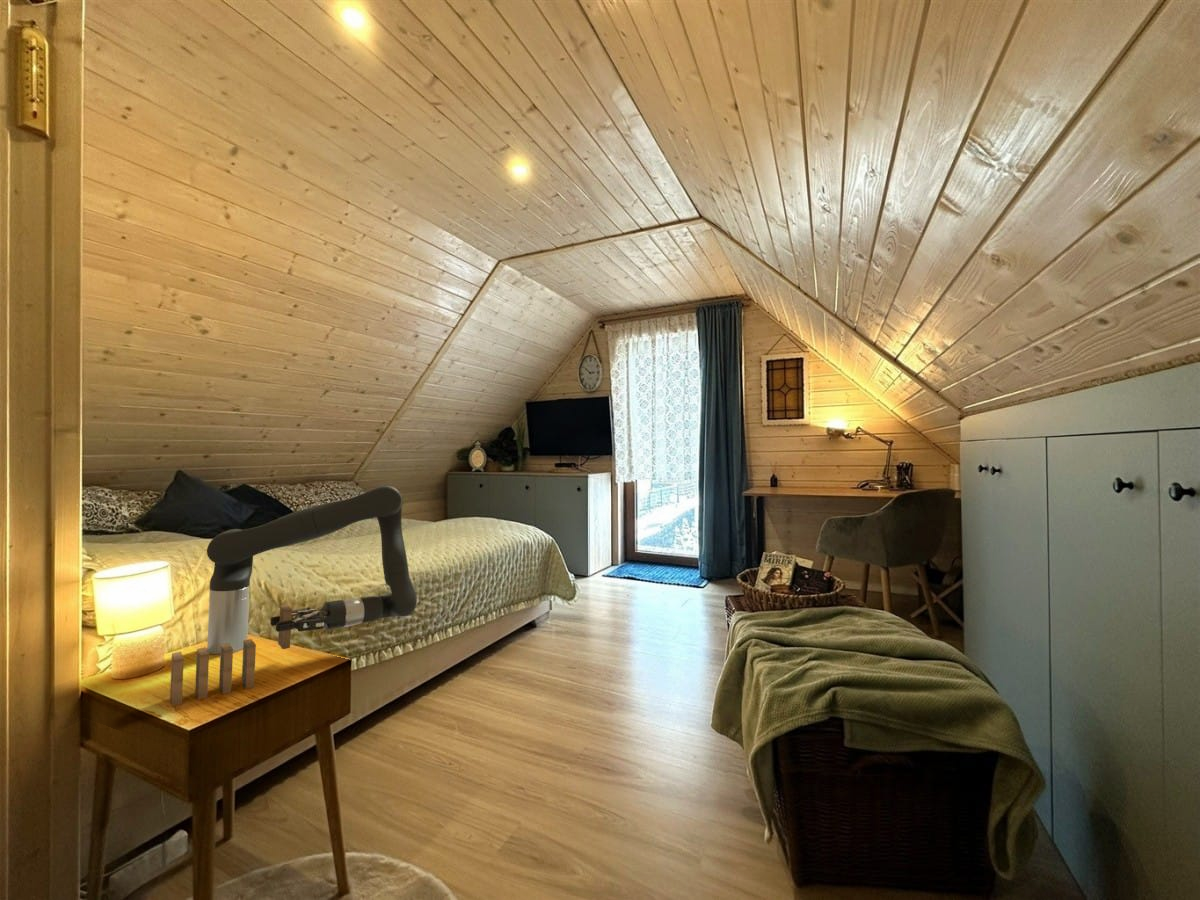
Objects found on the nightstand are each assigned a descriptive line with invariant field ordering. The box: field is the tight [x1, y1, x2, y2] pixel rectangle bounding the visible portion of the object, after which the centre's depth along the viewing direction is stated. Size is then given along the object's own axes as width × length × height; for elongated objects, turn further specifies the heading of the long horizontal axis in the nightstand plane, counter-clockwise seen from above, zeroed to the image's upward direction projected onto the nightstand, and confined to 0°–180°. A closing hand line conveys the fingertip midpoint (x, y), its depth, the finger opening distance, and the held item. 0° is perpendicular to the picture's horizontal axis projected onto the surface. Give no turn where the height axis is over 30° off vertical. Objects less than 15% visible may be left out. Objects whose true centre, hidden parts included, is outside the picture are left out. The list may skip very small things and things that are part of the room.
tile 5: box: [169, 651, 185, 707], centre depth 117 cm, size 5×2×10 cm, turn 44°
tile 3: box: [218, 643, 234, 695], centre depth 123 cm, size 5×2×10 cm, turn 44°
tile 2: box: [241, 638, 257, 690], centre depth 126 cm, size 5×2×10 cm, turn 44°
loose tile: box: [277, 604, 293, 650], centre depth 138 cm, size 5×2×10 cm, turn 44°
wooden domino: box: [194, 646, 210, 701], centre depth 120 cm, size 5×2×10 cm, turn 44°
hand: (273, 624), depth 136 cm, fingers closed on loose tile, 5 cm apart
